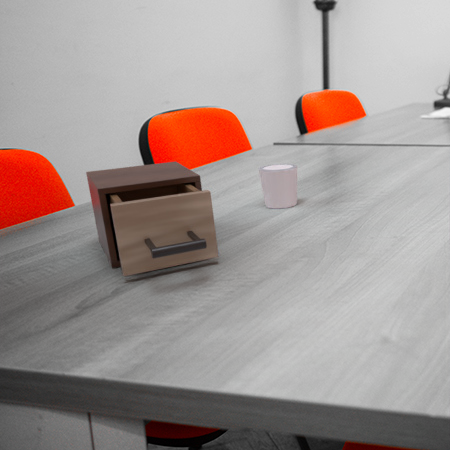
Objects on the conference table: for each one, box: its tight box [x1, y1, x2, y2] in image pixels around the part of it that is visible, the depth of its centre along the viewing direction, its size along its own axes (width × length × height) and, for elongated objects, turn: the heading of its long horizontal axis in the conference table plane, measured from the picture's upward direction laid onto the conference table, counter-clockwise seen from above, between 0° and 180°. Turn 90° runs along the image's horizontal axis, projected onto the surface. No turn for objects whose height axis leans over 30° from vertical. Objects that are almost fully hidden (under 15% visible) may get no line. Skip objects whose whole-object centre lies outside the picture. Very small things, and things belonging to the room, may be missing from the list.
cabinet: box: [85, 161, 203, 269], centre depth 82 cm, size 15×13×11 cm
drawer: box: [105, 183, 220, 277], centre depth 73 cm, size 20×11×9 cm, turn 33°
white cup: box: [258, 163, 298, 210], centre depth 103 cm, size 7×7×7 cm
